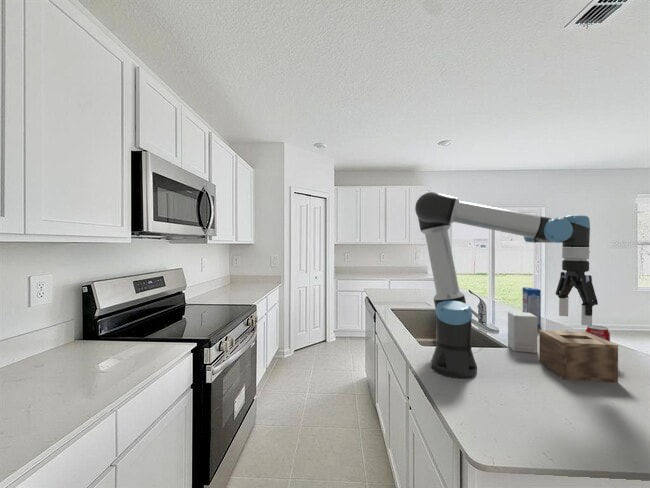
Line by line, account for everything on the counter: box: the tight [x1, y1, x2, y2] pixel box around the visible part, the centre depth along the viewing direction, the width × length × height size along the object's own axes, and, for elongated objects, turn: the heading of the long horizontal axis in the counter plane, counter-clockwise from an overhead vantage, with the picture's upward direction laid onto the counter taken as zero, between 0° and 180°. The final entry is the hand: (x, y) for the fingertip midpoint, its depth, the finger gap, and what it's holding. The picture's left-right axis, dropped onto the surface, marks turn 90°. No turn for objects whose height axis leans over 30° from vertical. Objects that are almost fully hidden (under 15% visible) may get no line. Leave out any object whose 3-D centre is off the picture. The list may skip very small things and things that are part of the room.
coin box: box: [538, 329, 619, 383], centre depth 114 cm, size 16×16×12 cm
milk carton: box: [522, 286, 542, 328], centre depth 179 cm, size 10×6×20 cm, turn 161°
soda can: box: [585, 324, 611, 342], centre depth 123 cm, size 7×7×13 cm
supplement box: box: [507, 311, 538, 354], centre depth 138 cm, size 9×9×15 cm
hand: (574, 320), depth 114 cm, fingers open, 13 cm apart
